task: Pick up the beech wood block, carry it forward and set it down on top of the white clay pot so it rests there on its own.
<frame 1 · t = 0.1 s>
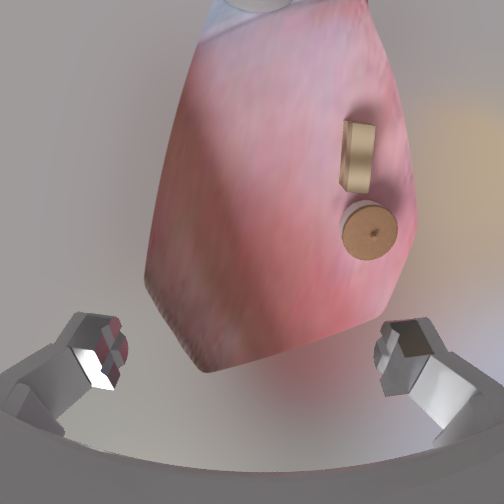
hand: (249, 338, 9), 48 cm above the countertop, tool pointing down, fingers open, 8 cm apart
lidded jar: (359, 217, 58), on the countertop
beech block: (351, 152, 51), on the countertop
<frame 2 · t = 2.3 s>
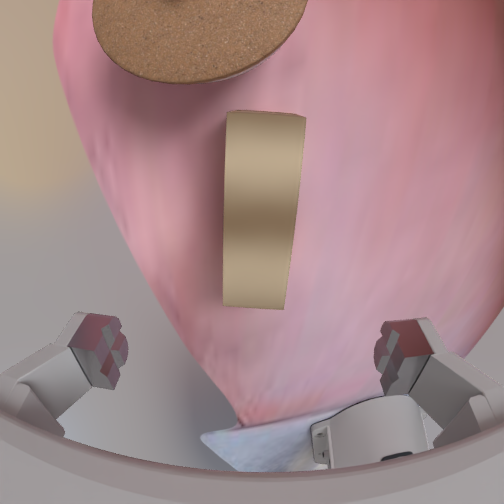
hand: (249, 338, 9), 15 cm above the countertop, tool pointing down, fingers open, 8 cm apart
lidded jar: (216, 21, 16), on the countertop
beech block: (260, 191, 22), on the countertop
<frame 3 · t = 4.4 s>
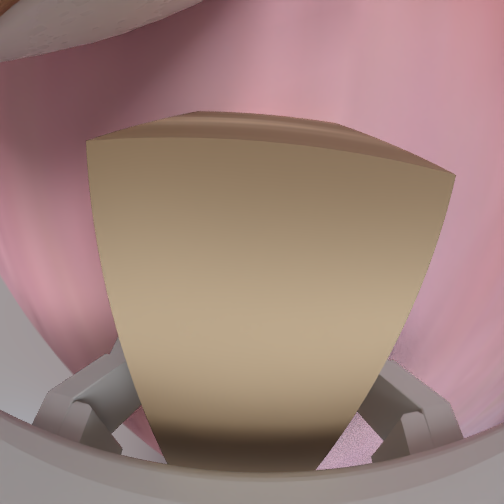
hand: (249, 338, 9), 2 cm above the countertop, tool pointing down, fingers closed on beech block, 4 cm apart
beech block: (252, 290, 11), on the countertop, touching gripper
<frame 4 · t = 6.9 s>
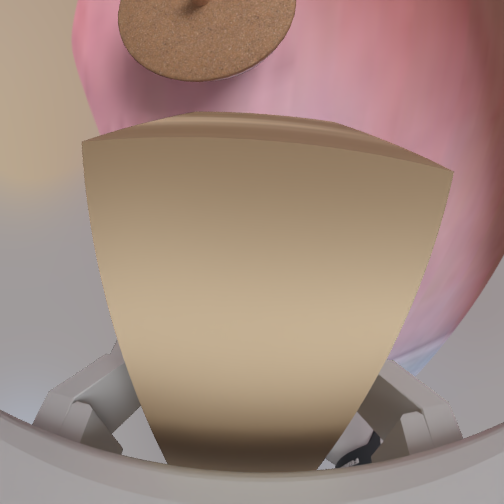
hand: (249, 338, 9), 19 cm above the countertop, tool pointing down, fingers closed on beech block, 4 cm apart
lidded jar: (219, 27, 19), on the countertop
beech block: (251, 290, 11), point 16 cm above the countertop, touching gripper
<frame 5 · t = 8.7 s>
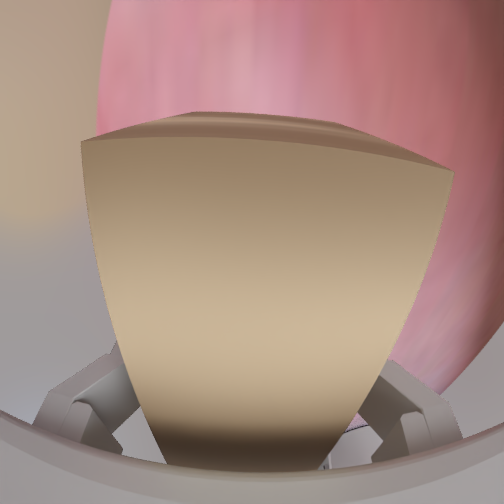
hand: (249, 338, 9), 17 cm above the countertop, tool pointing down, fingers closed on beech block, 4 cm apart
beech block: (251, 290, 11), point 15 cm above the countertop, touching gripper
when the fingers open (13 cm above the countertop, at t = 9.9 s): beech block stays where it is, resting on lidded jar.
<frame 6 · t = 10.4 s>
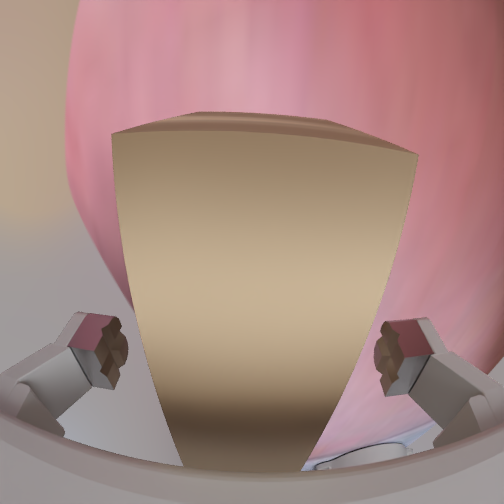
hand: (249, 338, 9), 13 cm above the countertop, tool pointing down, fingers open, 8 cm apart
beech block: (252, 278, 12), point 9 cm above the countertop, touching lidded jar
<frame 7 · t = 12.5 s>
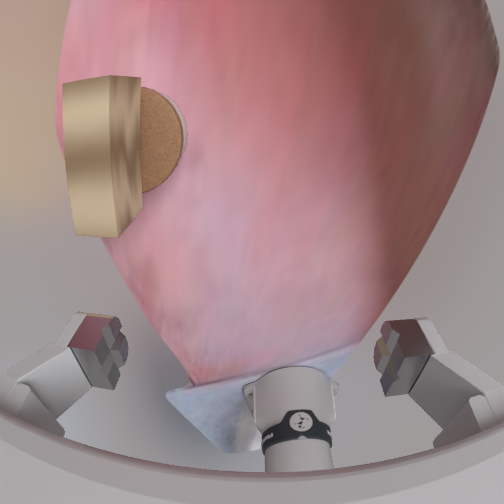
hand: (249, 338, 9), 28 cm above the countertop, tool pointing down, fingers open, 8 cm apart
lidded jar: (153, 130, 32), on the countertop, touching beech block
beech block: (119, 145, 23), point 9 cm above the countertop, touching lidded jar
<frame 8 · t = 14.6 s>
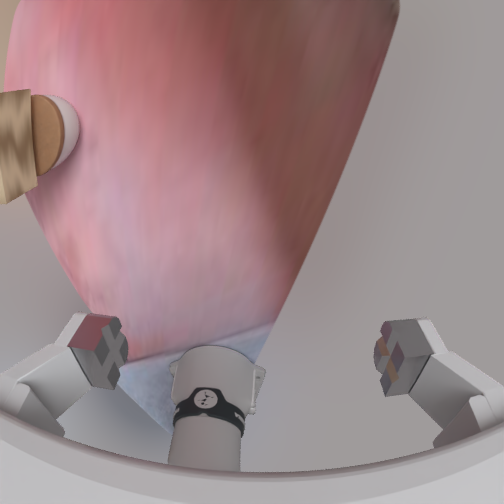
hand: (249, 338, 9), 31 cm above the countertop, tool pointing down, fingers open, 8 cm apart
lidded jar: (63, 127, 34), on the countertop, touching beech block
beech block: (21, 139, 26), point 9 cm above the countertop, touching lidded jar
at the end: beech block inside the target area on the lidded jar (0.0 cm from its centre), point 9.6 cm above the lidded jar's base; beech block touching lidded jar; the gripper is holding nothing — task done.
